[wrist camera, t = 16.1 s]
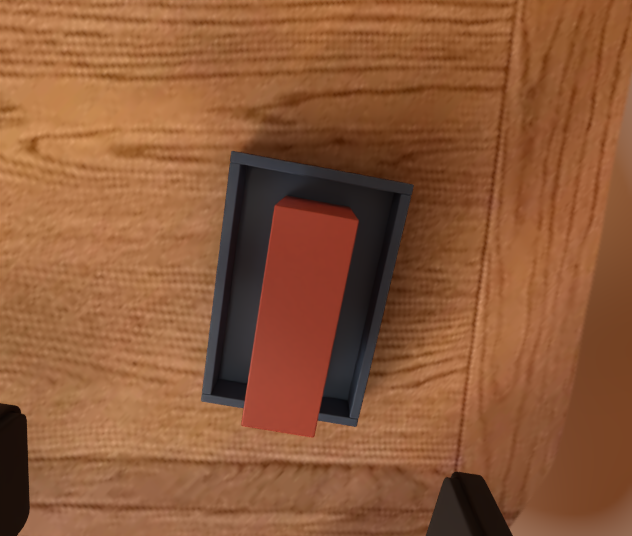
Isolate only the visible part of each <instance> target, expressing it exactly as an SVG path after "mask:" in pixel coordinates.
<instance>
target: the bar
mask: <svg viewBox="0 0 632 536" xmlns="http://www.w3.org/2000/svg"><path fill="white" fill-rule="evenodd" d="M358 224H359V220H358V219H357V217H356V216H355V214H354V213H353V211H352V210H351V208H350V207H347V206H342V205H336V204H331V203H325V202H320V201H314V200H309V199H303V198H298V197H292V196H285V197H284V198H283V199H282V200H280V201H279V202H278V203H277V204H276V205H275V207H274V213H273V220H272V226H271V233H270V239H269V246H268V252H267V259H266V265H265V272H264V278H263V285H262V292H261V298H260V305H259V311H258V318H257V324H256V331H255V337H254V344H253V350H252V357H251V363H250V370H249V376H248V383H247V390H246V396H245V403H244V409H243V416H242V422H241V425H242V426H245V427H251V428H258V429H264V430H270V431H276V432H282V433H288V434H294V435H301V436H307V437H314V435H315V431H316V426H317V421H318V416H319V411H320V407H321V402H322V397H323V392H324V387H325V383H326V378H327V373H328V368H329V363H330V358H331V354H332V349H333V344H334V339H335V334H336V330H337V325H338V320H339V315H340V310H341V306H342V301H343V296H344V291H345V286H346V282H347V277H348V272H349V267H350V262H351V257H352V253H353V248H354V243H355V238H356V233H357V229H358Z"/></svg>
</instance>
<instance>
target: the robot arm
mask: <svg viewBox="0 0 632 536" xmlns="http://www.w3.org/2000/svg"><path fill="white" fill-rule="evenodd" d="M29 509H30V506H29V476H28V445H27V419H26V416H25V415H24V414H21V410H20V408H19V407H18V406H15V405H8V404H1V403H0V536H17V535H18V533H19V532H20V531H21V529H22V528H23V527H24V525H25V523H26V521H27V518H28V515H29ZM426 536H513V535H512V533H511V531H510V529H509V527H508V525H507V523H506V522H505V520H504V518H503V516H502V514H501V512H500V510H499V508H498V506H497V504H496V502H495V500H494V498H493V496H492V494H491V492H490V490H489V488H488V486H487V484H486V482H485V480H484V479H483V477H482V476H480V475H475V474H469V473H462V472H454V473H453V474H452V476H451V478H448V477H446V478H445V479H444V481H443V484H442V487H441V490H440V493H439V496H438V499H437V502H436V505H435V509H434V512H433V515H432V518H431V521H430V524H429V527H428V530H427V534H426Z"/></svg>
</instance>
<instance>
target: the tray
mask: <svg viewBox="0 0 632 536" xmlns="http://www.w3.org/2000/svg"><path fill="white" fill-rule="evenodd" d="M230 162H231V163H230V168H229V176H228V184H227V193H226V201H225V209H224V217H223V225H222V233H221V242H220V250H219V258H218V266H217V274H216V283H215V291H214V299H213V307H212V315H211V323H210V332H209V340H208V348H207V356H206V364H205V373H204V381H203V389H202V397H201V401H202V402H208V403H215V404H221V405H227V406H233V407H239V408H244V403H245V396H246V390H247V383H248V376H249V370H250V363H251V357H252V350H253V344H254V337H255V331H256V324H257V318H258V311H259V305H260V298H261V292H262V285H263V278H264V272H265V265H266V259H267V252H268V246H269V239H270V233H271V226H272V220H273V213H274V207H275V205H276V204H277V203H278V202H279V201H280V200H282V199H283V198H284V197H285V196H292V197H298V198H303V199H309V200H314V201H320V202H325V203H331V204H336V205H342V206H347V207H350V208H351V210H352V211H353V213H354V214H355V216H356V217H357V219H358V220H359V224H358V229H357V233H356V238H355V243H354V248H353V253H352V257H351V262H350V267H349V272H348V277H347V282H346V286H345V291H344V296H343V301H342V306H341V310H340V315H339V320H338V325H337V330H336V334H335V339H334V344H333V349H332V354H331V358H330V363H329V368H328V373H327V378H326V383H325V387H324V392H323V397H322V402H321V407H320V411H319V416H318V421H324V422H330V423H336V424H342V425H348V426H354V427H356V426H357V423H358V418H359V414H360V410H361V406H362V402H363V397H364V393H365V389H366V385H367V381H368V376H369V372H370V368H371V364H372V359H373V355H374V351H375V347H376V343H377V338H378V334H379V330H380V326H381V322H382V317H383V313H384V309H385V305H386V300H387V296H388V292H389V288H390V284H391V279H392V275H393V271H394V267H395V262H396V258H397V254H398V250H399V246H400V241H401V237H402V233H403V229H404V225H405V220H406V216H407V212H408V208H409V203H410V199H411V196H410V195H412V191H413V187H414V185H413V184H408V183H403V182H398V181H392V180H387V179H382V178H376V177H371V176H365V175H360V174H355V173H349V172H344V171H339V170H333V169H328V168H322V167H317V166H312V165H306V164H301V163H296V162H290V161H285V160H280V159H274V158H269V157H263V156H258V155H253V154H247V153H242V152H236V151H232V152H231V159H230Z"/></svg>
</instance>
